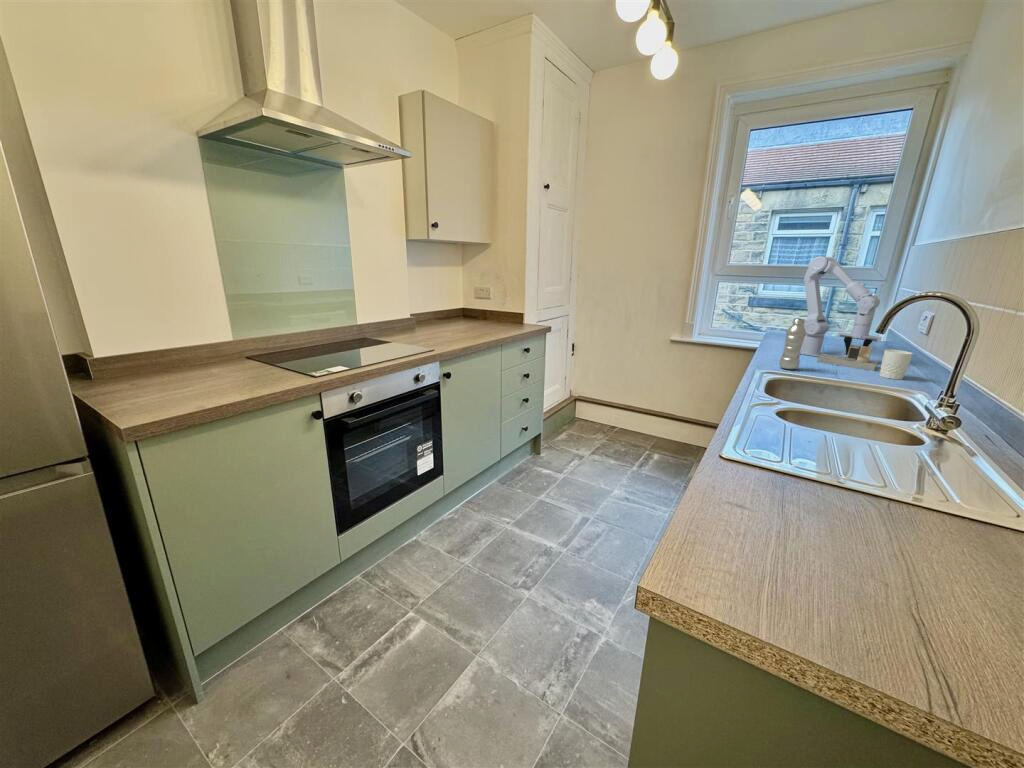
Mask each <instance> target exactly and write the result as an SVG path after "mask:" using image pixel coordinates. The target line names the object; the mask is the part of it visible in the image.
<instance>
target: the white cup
mask: <svg viewBox="0 0 1024 768" xmlns="http://www.w3.org/2000/svg"><path fill="white" fill-rule="evenodd" d="M913 355H914V353H913V352H911V351H906V350H899V349H884V351H883V356H882V360H881V365H880V370H879V374H878V376H879V375H880V377H881V376H882V378H884V377H885V378H886V379H889V378H891V380H897V379H901V380H903V379H904V377H905V373H906V372H907V370H908V367H909V366H910V363H911V360H912V357H913ZM885 378H884V379H885Z"/></svg>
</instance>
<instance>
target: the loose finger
mask: <svg viewBox="0 0 1024 768" xmlns="http://www.w3.org/2000/svg"><path fill="white" fill-rule="evenodd" d="M859 347H861V346H860V345H859V346H858V345H854V344H853V345H852V344H851V345H850V347H849V351H848V354H847V355H846V357H849V358H856V355H857V352H858V348H859Z"/></svg>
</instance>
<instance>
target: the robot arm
mask: <svg viewBox="0 0 1024 768" xmlns="http://www.w3.org/2000/svg"><path fill="white" fill-rule="evenodd" d="M825 274H832V275H834V276H835V277H836V278H837V280H839V281H840V282H841V283H842V284H843V285H844V286H845V287H846V288H845V292H846V293H847V294H848V295H849V296H850V297H851V298H852V300H854V301H855V302H856V306H857V312H856V313H855V314H856V315H855V317H854V322H853V326H852V329H851V332H841V331H839V332H837V336H836V337H837V338H844V339H843V341H844V346H845V355H846V356H847V354H848V351H849V347H850V346H851V345H852V342H853V340H862V341H863V342H862V346H866V347H870V345H871V344H872V343H873V342H877V343H881V342H882V337H883V336H876V335H870V334H869V333H870V330H871V327H872V323H873V321H874V317H875V313H876V309H877V308H878V307H879V306H880V303H881V300H880V298H879V296H877V295H874V293H873V292H872V291H870V290H869V289H868V288H867V287H866V284H865V283H864V282H861V281H855V280H854V278H853V277H851V275H850V274H849V273H848V271H846V270H845V268H844V267H843V266H842V265H841V264H840V262H839V261H837V260H836V259H835V258H834V257H832V256H823V255H821V256H816V257H814V258H813V259H812V260H811V261H810V262H809V263H808V267H807V270H806V272H805V274H804V277H803V279H804V281H803V282H804V290H805V298H806V299H805V300H806V308H807V314H808V315H807V318H806V319H805V324H804V326H803V327H804V328H805V330H806V336H805V338H804V340H803V343H802V346H801V350H800V355H804V354H805V356H813V357H817V358H818V356H821V354H823V353H821V350H822V346H823V343H824V338H825V333H827V332H828V331H829V329H830V325H829V323H828V322H827V320H826V319H827V318H826V316H825V315H824V313H823V306H822V297H821V289H820V288H821V287H820V279H821V278H822V277H823V276H824V275H825Z"/></svg>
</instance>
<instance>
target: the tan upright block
mask: <svg viewBox="0 0 1024 768" xmlns="http://www.w3.org/2000/svg"><path fill="white" fill-rule="evenodd" d="M872 351H873V346H868V347H866V346H863V345H862V346H860V347H859V348H858V352H857V355H856V359H855V360H857V361H859V362H866V363H868V362H869V361H870V358H871V354H872Z"/></svg>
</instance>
